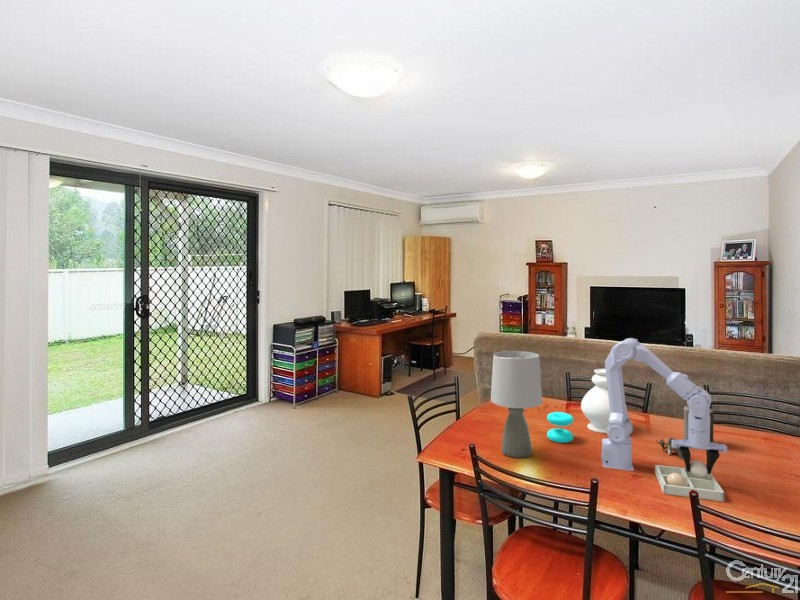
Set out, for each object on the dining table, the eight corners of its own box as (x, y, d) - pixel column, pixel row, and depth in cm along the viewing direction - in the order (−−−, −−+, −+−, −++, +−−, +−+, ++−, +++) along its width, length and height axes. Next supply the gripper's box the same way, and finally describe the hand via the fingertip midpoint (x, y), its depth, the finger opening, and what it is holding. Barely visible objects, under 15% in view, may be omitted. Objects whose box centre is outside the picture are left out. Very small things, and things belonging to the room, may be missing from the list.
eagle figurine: (653, 450, 169) (677, 454, 161) (656, 431, 171) (681, 434, 163) (665, 458, 171) (690, 462, 164) (669, 440, 174) (693, 443, 166)
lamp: (548, 449, 175) (548, 352, 172) (532, 466, 159) (532, 361, 157) (502, 439, 185) (501, 349, 183) (483, 455, 170) (482, 356, 168)
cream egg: (690, 479, 143) (690, 463, 143) (687, 472, 148) (687, 457, 147) (709, 481, 141) (709, 465, 141) (705, 474, 146) (705, 459, 146)
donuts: (555, 409, 191) (578, 415, 183) (555, 433, 192) (578, 439, 184) (542, 414, 185) (564, 420, 177) (542, 439, 185) (564, 446, 178)
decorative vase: (634, 435, 187) (635, 374, 186) (590, 435, 188) (590, 375, 186) (615, 421, 205) (615, 365, 204) (574, 421, 206) (575, 366, 204)
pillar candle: (718, 449, 172) (718, 409, 171) (689, 447, 174) (689, 408, 173) (706, 440, 181) (707, 402, 180) (679, 438, 183) (679, 401, 182)
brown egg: (668, 492, 139) (668, 475, 138) (665, 484, 143) (665, 469, 143) (687, 494, 137) (687, 478, 137) (683, 487, 142) (684, 471, 141)
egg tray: (663, 494, 138) (663, 485, 138) (654, 473, 152) (655, 464, 152) (724, 503, 132) (724, 492, 132) (709, 480, 147) (709, 470, 147)
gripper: (722, 427, 145) (721, 469, 145) (669, 422, 150) (669, 463, 151) (729, 435, 138) (728, 479, 139) (674, 430, 143) (673, 472, 144)
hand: (698, 471), depth 144 cm, fingers closed on cream egg, 5 cm apart
